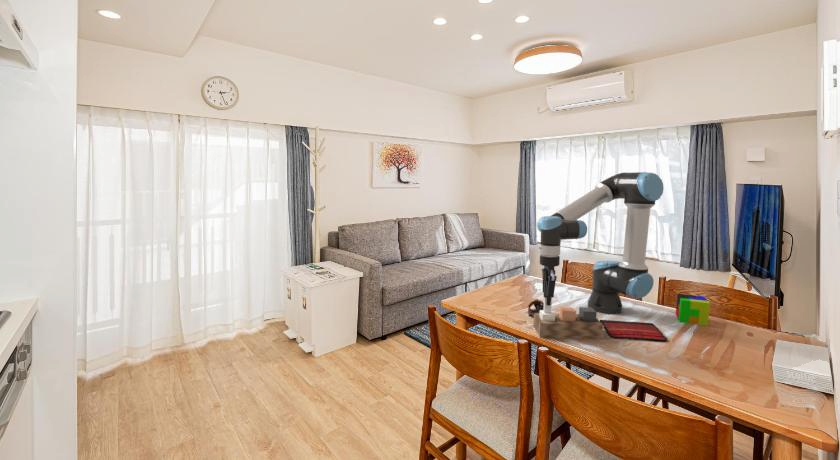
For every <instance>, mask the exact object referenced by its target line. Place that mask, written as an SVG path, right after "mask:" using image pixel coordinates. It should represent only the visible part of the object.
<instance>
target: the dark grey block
mask: <svg viewBox="0 0 840 460" xmlns="http://www.w3.org/2000/svg"><path fill="white" fill-rule="evenodd" d="M578 309H579V310H578V314H579V319H580V320H581V321H582V322H596V318H597V315H598V314H597V313H598V312H597V311H595V310H594V309H593V308H592V307H588V306H586V307H585V306H584V307H583V306H582V307H581V306H579V308H578Z"/></svg>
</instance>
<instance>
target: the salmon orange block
mask: <svg viewBox="0 0 840 460" xmlns="http://www.w3.org/2000/svg"><path fill="white" fill-rule="evenodd" d="M558 310H559V311H558V314H559V318H560V320H561V321H576V314H577V311H576V310H575V309H574V307H572V306H559V309H558Z"/></svg>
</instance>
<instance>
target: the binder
mask: <svg viewBox="0 0 840 460" xmlns="http://www.w3.org/2000/svg"><path fill="white" fill-rule="evenodd" d="M599 321H600V322H601V323H602V324H603V329H604V331H605V333H606V334H607V335H608V336H609V338H611V339H615V340H617V339H618V340H619V339H620V340H635V341H636V340H637V341H638V340H640V341H652V342H659V343H666V342H668V338H667V337H666V335H664V334H663V333H662V331H661V330H660V329H659V328H658V327H657V326H656V325H655V324H654V323H653V322H643V321H642V322H641V321H640V322H639V321H622V320H609V319H608V320H606V319H599Z"/></svg>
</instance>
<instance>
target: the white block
mask: <svg viewBox="0 0 840 460" xmlns="http://www.w3.org/2000/svg"><path fill="white" fill-rule="evenodd" d="M554 313H555V312H554V311H553V310H552V309H551V313H544V311H543V310H540V313H539V318H540V319H541V321H555V314H556V313H555V314H554Z"/></svg>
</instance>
